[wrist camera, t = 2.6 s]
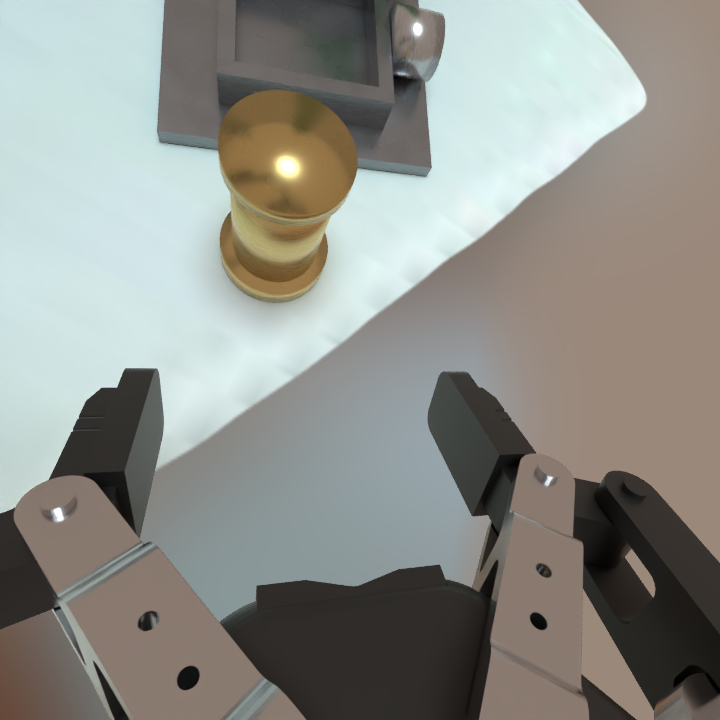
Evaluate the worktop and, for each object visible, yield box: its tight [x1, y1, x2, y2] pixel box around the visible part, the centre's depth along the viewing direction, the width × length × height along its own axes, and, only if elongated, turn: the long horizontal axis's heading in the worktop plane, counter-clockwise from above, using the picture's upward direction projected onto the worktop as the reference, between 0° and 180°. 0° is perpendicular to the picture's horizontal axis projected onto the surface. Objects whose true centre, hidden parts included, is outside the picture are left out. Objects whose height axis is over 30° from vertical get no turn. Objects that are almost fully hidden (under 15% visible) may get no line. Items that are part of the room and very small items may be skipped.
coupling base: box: [157, 0, 445, 176], centre depth 29 cm, size 18×16×5 cm
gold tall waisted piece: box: [218, 90, 358, 302], centre depth 23 cm, size 6×6×10 cm
